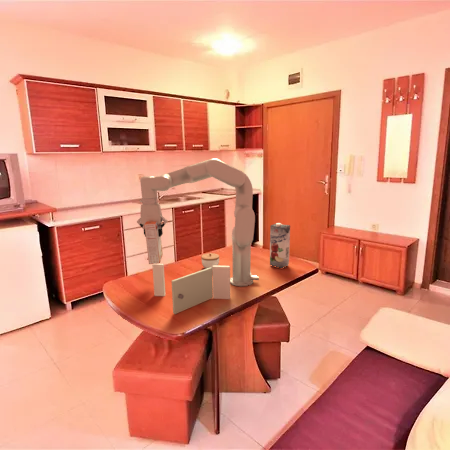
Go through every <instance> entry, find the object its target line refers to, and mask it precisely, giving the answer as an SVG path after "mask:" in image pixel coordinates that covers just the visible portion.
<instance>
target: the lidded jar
mask: <svg viewBox="0 0 450 450" xmlns="http://www.w3.org/2000/svg"><path fill="white" fill-rule="evenodd" d="M201 264H202V266H203V268H204V269H207V268H210V267H211V268H212V271H213V265H218V266H219V265H220V254H218V253H212V252H208V253H204V254H202V255H201Z"/></svg>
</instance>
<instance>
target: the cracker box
mask: <svg viewBox="0 0 450 450" xmlns="http://www.w3.org/2000/svg"><path fill="white" fill-rule="evenodd" d="M144 226H145V234H146V237H145V240H146V242H145V243H146V250H147V258H148V265H153V264H154V263H155V264H161V261H162V259H163V258H162V257H163V245H162V236H160V237H159V233H158V229H159V227H158V224H157V222H146V223H145V224H144Z"/></svg>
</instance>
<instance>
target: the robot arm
mask: <svg viewBox="0 0 450 450" xmlns="http://www.w3.org/2000/svg"><path fill="white" fill-rule="evenodd" d="M209 178H213V179H216V180H217V181H220V182H222V183H224V184H226V185H228V186H230V187H232V188H234V189H235V203H234V204H235V205H234V211H233V214H234V218H235V220H234V227H233V228H232V230H231V243H232V244H231V245H232V246H231V247H232V277H230V285H232V286H236V287H248V285H249V286H251V285H253V283H254V281H259V280H260V276H257V275H256V274H254V275H253V274H252V272H251V264H252V263H251V251H252V250H251V249H252V248H251V247H252V246H251V245H252V243H253V241H254V234H255V225H256V224H255V223H256V215H255V212H254V210H253V198H254V196H253V193H254V188H253V184H252V181H251V179H250V178H249V176H248V175H247V174H246V173H245V172H244V171H243V170H240V169H239V168H236V167H235V166H232V165H230V164H228V163H226V162H224V161H222V160H221V159H219V158H213V157H212V158H210V159H207V160H204V161H199V162H196V163H194V164H190V165H188V166H184V167H183V168H180V169H177V170H173V171H171V172H168V173H164V174H161V175H159V176H158V175H157V176H154V175H147V176H146V175H145V176H142V177H140V179H139V180H140V181H139V182H140V190H141V199H139V202H140V203H142V204H140V214H139V215H140V217H139V219H138V220H136V224H138V225H139V226H140V227H141V228H142V230H143V235H144V237H145V238H146V234H145V226H144V224H145V223H146V222H157V224H158V227H159V229H158V233H159V237H160V236H161V237H162V235H163V233H164V232H163V227H165V225H166V224H167V223H168V222H169V221H168V219H167V218H165V217H164V216H163V214H162V213H163V212H162V209H161V205H160V203H159V198H158V192H166V191H168V190H170V189H171V188H173V187H178V186H180V185H185V184H193V183H197V182H200V181H204V180H207V179H209Z"/></svg>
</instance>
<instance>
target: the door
mask: <svg viewBox="0 0 450 450" xmlns="http://www.w3.org/2000/svg"><path fill="white" fill-rule="evenodd" d="M171 297H172V298H171V299H172V313H173V314H174V315H177V314H178V313H180V312H183V311H185V310H188V309H190V308H192V307H195V306H197V305H200V304H202V303H204V302H206V301H209V300H211V299H214V298H213V270H212V268H211V267H210V268H207V269H205V268H204V269H202V270H201V269H200V270H198V271H196V272H193V273H189V274H187V275H184V276H180V277H178V278H175V279H171Z"/></svg>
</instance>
